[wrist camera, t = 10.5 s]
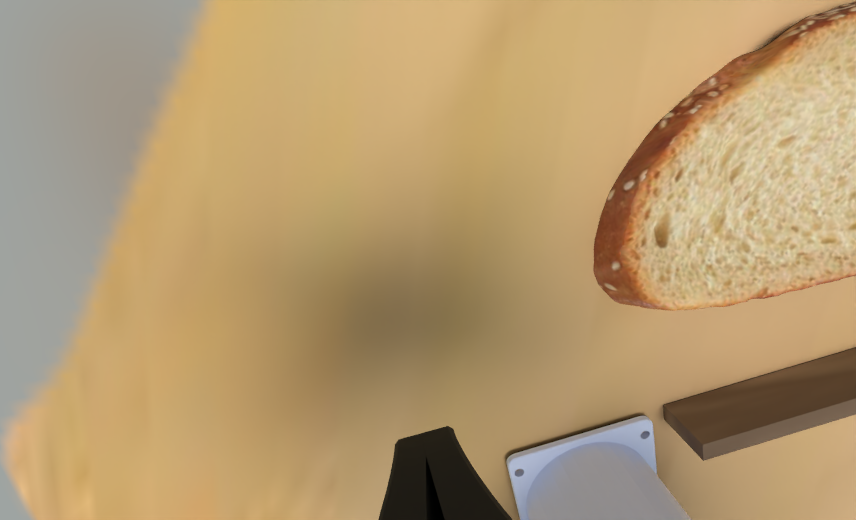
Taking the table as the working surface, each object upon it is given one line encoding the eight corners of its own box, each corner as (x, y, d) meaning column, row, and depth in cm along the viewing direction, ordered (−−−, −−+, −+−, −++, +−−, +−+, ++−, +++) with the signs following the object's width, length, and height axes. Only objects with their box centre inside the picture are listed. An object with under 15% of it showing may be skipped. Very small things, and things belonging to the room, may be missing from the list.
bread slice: (558, 279, 21) (596, 313, 18) (779, -144, 17) (888, -210, 13) (825, 378, 26) (898, 422, 22) (1060, 62, 21) (1200, 54, 17)
